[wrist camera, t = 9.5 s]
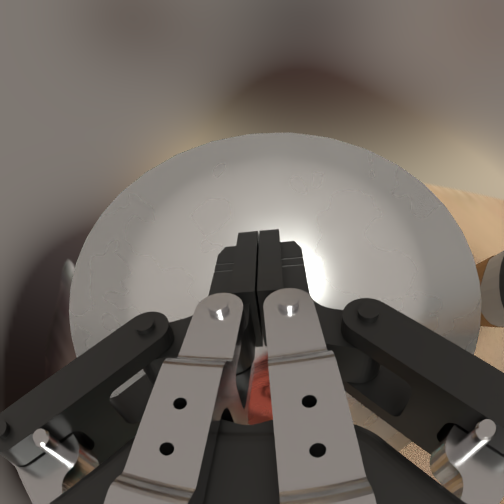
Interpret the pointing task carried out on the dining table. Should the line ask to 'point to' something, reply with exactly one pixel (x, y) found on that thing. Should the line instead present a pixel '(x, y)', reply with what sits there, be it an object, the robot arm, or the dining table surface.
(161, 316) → the robot arm
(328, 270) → the lid
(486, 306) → the coffee cup
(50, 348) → the dining table surface
